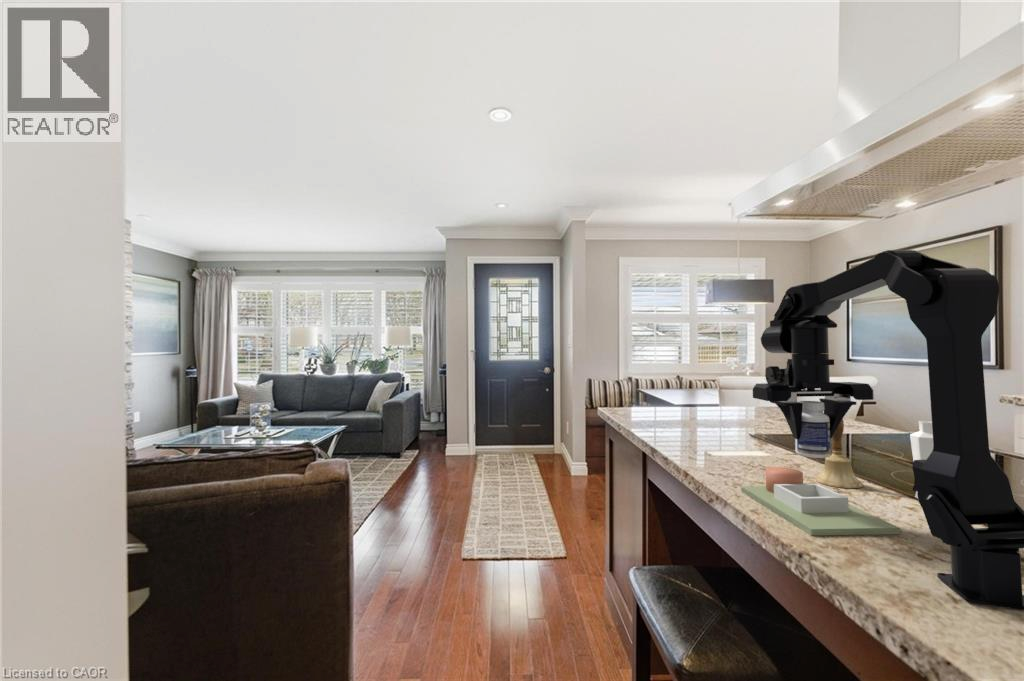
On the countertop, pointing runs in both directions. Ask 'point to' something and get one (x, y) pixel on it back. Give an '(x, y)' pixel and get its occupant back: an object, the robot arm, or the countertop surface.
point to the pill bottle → (814, 431)
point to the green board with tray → (814, 506)
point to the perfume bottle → (922, 442)
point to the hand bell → (838, 466)
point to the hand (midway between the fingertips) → (812, 438)
